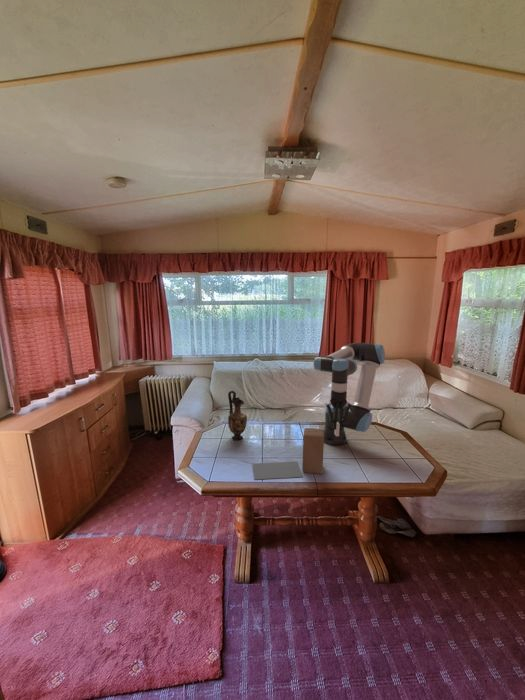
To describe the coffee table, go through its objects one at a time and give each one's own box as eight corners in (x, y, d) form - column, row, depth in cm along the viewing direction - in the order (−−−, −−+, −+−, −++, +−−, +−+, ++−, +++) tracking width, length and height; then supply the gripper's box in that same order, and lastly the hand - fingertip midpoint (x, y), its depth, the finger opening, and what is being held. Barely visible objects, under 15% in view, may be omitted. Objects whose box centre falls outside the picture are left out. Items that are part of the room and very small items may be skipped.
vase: (239, 444, 174) (239, 396, 169) (223, 439, 181) (222, 392, 176) (250, 436, 184) (250, 391, 179) (234, 432, 190) (234, 388, 186)
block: (322, 475, 143) (324, 437, 140) (302, 472, 145) (303, 435, 142) (322, 464, 153) (323, 428, 150) (303, 462, 155) (304, 426, 152)
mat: (297, 461, 155) (297, 461, 155) (303, 477, 141) (303, 476, 141) (252, 464, 153) (252, 463, 153) (254, 479, 139) (254, 479, 139)
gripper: (348, 387, 148) (346, 431, 152) (323, 388, 147) (321, 432, 150) (354, 392, 141) (352, 437, 144) (328, 392, 139) (326, 438, 143)
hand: (336, 435), depth 147 cm, fingers closed
